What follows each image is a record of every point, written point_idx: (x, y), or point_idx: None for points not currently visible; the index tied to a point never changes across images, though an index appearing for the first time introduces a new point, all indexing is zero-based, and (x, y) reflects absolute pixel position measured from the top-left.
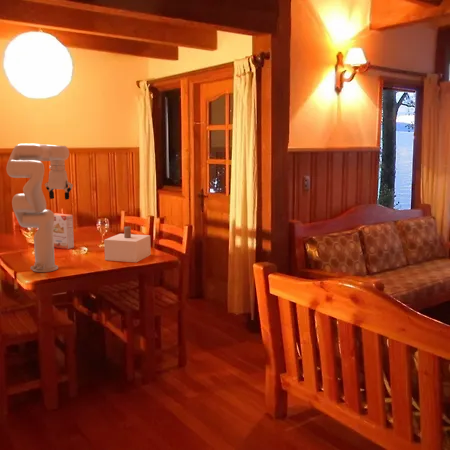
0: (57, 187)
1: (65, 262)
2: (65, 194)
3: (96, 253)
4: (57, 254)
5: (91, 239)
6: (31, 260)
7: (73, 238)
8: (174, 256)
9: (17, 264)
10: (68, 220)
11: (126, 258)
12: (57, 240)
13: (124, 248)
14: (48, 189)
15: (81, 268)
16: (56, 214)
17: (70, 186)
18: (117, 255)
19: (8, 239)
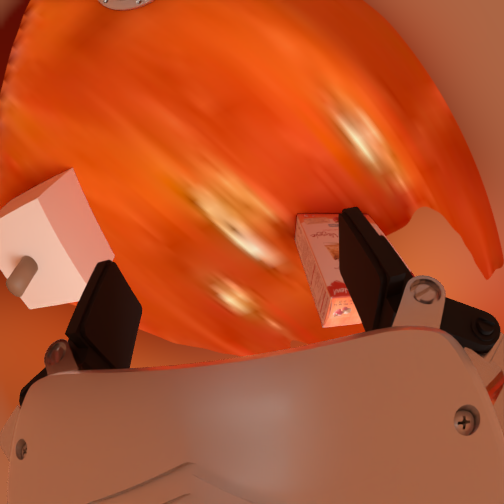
0: (141, 397)
1: (148, 67)
2: (78, 308)
3: (164, 216)
4: (275, 139)
5: (317, 324)
6: (290, 28)
7: (300, 257)
8: None
9: None
10: (322, 291)
11: (21, 195)
12: None
13: (8, 208)
14: (449, 314)
15: (51, 58)
16: None
17: (15, 424)
18: (34, 189)
19: (491, 234)
